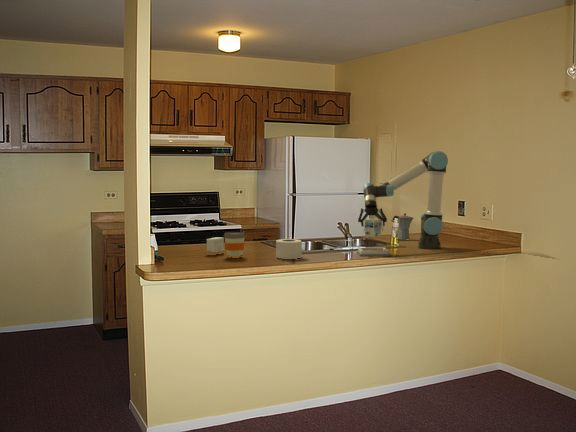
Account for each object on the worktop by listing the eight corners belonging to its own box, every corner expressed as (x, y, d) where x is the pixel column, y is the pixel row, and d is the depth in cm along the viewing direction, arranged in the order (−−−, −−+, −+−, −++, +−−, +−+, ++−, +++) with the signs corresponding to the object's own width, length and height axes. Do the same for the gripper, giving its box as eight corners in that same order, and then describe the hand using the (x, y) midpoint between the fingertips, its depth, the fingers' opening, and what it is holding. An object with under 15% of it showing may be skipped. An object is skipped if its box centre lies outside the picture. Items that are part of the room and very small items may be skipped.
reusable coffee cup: (221, 256, 385) (221, 232, 384) (241, 255, 390) (240, 231, 389) (228, 259, 373) (227, 234, 372) (247, 258, 378) (247, 233, 377)
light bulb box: (374, 237, 388) (374, 219, 387) (364, 236, 392) (364, 219, 391) (381, 235, 397) (381, 218, 396) (371, 235, 401) (371, 218, 400)
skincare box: (216, 253, 401) (215, 236, 400) (224, 253, 398) (224, 237, 397) (206, 255, 392) (206, 238, 391) (214, 255, 389) (214, 239, 388)
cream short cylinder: (306, 258, 379) (306, 240, 378) (287, 260, 368) (287, 242, 368) (289, 255, 390) (289, 238, 389) (270, 257, 380) (270, 240, 379)
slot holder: (385, 251, 405) (385, 247, 404) (390, 256, 386) (390, 251, 385) (356, 251, 405) (356, 247, 404) (359, 256, 386) (359, 251, 385)
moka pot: (413, 240, 463) (413, 213, 461) (392, 240, 466) (392, 213, 464) (413, 239, 472) (413, 212, 470) (392, 239, 475) (392, 212, 473)
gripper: (387, 207, 408) (391, 233, 394) (352, 207, 408) (354, 233, 394) (389, 199, 402) (392, 226, 388) (353, 199, 403) (355, 226, 388)
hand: (373, 229), depth 391 cm, fingers closed on light bulb box, 11 cm apart
